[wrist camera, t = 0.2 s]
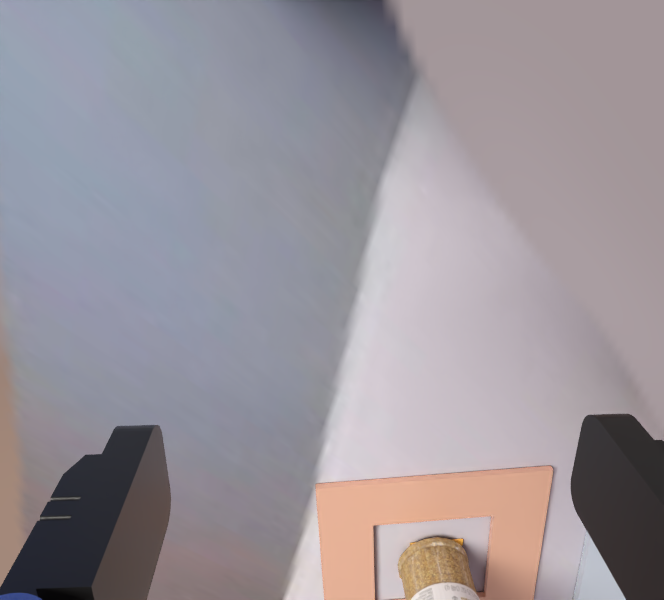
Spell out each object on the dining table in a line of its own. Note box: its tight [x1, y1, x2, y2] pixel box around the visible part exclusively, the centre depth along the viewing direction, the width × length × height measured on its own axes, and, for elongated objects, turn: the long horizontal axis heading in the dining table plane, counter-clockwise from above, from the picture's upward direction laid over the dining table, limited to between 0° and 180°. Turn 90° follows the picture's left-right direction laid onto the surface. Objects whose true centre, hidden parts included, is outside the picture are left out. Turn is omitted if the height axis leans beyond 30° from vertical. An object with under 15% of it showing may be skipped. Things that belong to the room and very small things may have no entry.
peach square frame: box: [316, 466, 553, 600], centre depth 38 cm, size 14×14×1 cm
